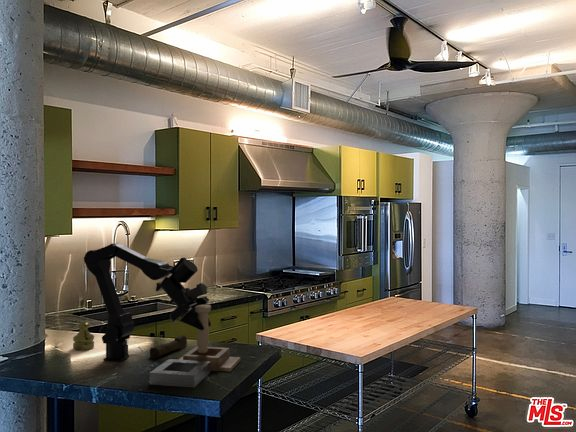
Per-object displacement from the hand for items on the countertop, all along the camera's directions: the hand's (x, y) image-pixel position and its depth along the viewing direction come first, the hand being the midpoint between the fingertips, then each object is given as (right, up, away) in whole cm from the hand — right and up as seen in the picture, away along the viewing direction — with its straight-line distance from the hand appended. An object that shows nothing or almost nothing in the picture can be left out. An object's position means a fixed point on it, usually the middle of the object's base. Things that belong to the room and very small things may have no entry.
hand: (206, 327), depth 164 cm
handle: (-1, -8, 0) cm, 8 cm away
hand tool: (-17, -14, +19) cm, 29 cm away
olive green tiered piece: (-50, -13, +23) cm, 57 cm away
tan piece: (-1, -13, +4) cm, 14 cm away
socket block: (-6, -13, -10) cm, 18 cm away
